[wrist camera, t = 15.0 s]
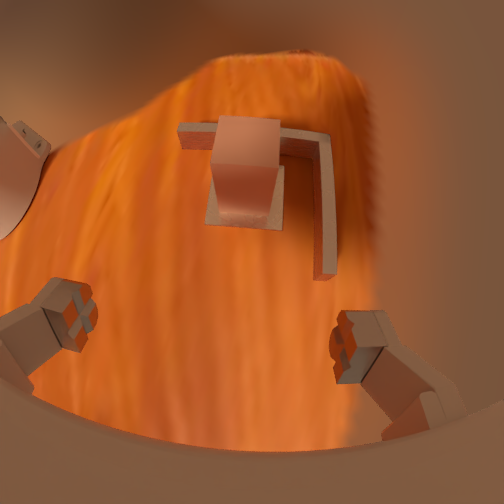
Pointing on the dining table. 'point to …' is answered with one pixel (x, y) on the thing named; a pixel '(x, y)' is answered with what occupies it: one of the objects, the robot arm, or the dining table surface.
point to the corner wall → (282, 190)
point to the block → (245, 164)
